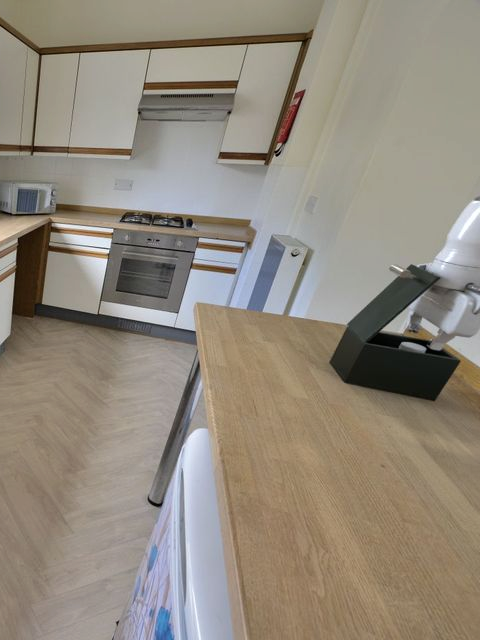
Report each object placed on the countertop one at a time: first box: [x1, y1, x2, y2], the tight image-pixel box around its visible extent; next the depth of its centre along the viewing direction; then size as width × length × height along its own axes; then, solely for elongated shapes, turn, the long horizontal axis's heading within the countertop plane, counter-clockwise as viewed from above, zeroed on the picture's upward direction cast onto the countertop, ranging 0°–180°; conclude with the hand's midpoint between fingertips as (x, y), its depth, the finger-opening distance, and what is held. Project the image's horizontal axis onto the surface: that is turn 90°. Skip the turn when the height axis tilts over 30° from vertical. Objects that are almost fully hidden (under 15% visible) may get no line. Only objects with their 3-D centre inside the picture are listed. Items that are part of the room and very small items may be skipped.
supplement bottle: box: [398, 342, 426, 353], centre depth 91 cm, size 5×5×8 cm
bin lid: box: [346, 263, 441, 343], centre depth 88 cm, size 16×11×4 cm
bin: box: [329, 326, 462, 402], centre depth 91 cm, size 16×11×10 cm
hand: (421, 339), depth 88 cm, fingers open, 8 cm apart
